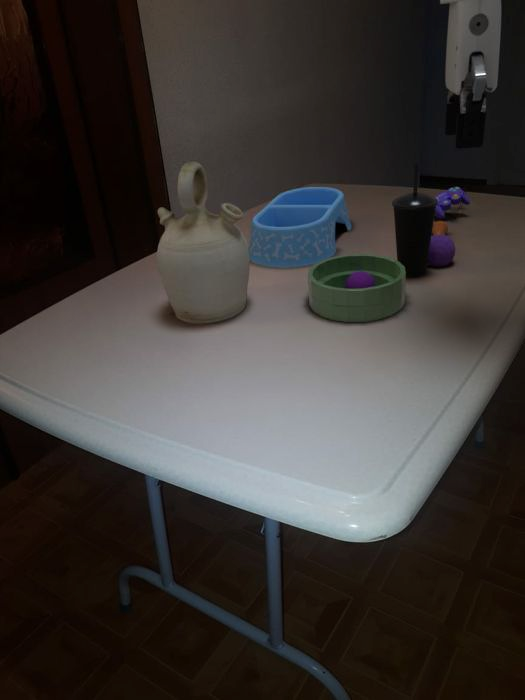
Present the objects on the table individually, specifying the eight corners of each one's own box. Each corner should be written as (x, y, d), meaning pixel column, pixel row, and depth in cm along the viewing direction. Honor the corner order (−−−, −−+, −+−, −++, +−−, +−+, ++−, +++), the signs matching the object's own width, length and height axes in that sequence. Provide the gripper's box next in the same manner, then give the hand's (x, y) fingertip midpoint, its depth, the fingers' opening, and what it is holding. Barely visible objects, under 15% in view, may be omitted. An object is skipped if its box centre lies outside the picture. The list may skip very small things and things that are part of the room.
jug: (271, 298, 99) (257, 152, 86) (220, 337, 88) (196, 175, 75) (203, 287, 106) (182, 150, 94) (148, 321, 95) (116, 172, 83)
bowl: (400, 284, 99) (401, 252, 96) (407, 324, 86) (409, 289, 83) (313, 286, 102) (311, 255, 99) (306, 326, 88) (304, 291, 85)
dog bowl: (324, 272, 107) (323, 230, 103) (234, 268, 113) (229, 228, 109) (358, 219, 134) (358, 183, 130) (284, 218, 141) (281, 184, 136)
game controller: (444, 210, 121) (416, 193, 128) (446, 239, 127) (419, 221, 134) (482, 189, 122) (452, 172, 129) (482, 219, 128) (453, 202, 135)
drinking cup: (406, 286, 98) (410, 170, 88) (382, 272, 104) (383, 162, 94) (442, 276, 100) (450, 162, 90) (416, 264, 106) (421, 155, 96)
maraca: (457, 217, 116) (459, 242, 99) (450, 245, 119) (450, 274, 101) (428, 212, 117) (425, 236, 100) (422, 239, 120) (417, 267, 103)
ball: (369, 299, 95) (378, 272, 93) (370, 308, 91) (380, 280, 89) (341, 292, 96) (350, 264, 94) (341, 300, 91) (350, 271, 89)
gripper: (528, -24, 57) (507, 151, 65) (493, -14, 71) (479, 127, 80) (451, -15, 58) (441, 155, 66) (432, -7, 73) (425, 131, 81)
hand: (462, 140), depth 73 cm, fingers open, 9 cm apart
